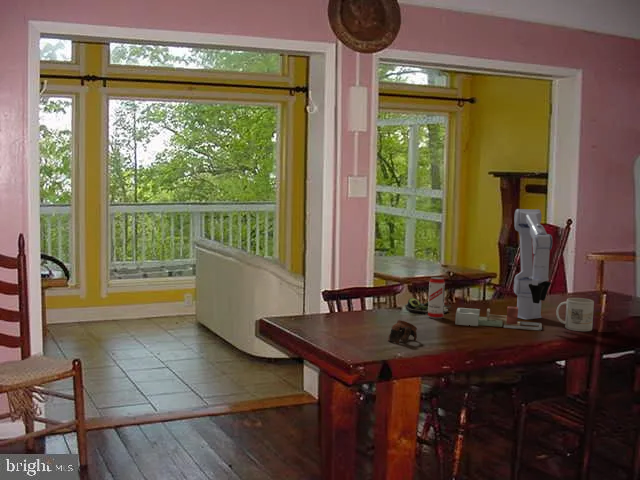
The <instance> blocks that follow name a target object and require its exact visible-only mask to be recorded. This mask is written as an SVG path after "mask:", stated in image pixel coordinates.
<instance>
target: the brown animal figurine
mask: <svg viewBox="0 0 640 480" xmlns="http://www.w3.org/2000/svg"><path fill="white" fill-rule="evenodd" d="M417 330H418V328H417V327H416V326H415V325H414V324H412V323H410V322H408V321H404V320H402V319H401V320H400V319H399V320H397V322H396V323H394V324H393V325H392V326H391V329H390V333H389V335H388V338H387V341H388V342H392V343H395V344H397V343H398V344H397V345H399V344H400V341H401V342H402V343H407V342H408V341H409V338H410V336H411V337H413V341H414V342H416V341H417V336H418V335H417Z"/></svg>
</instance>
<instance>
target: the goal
mask: <svg viewBox="0 0 640 480" xmlns="http://www.w3.org/2000/svg"><path fill="white" fill-rule="evenodd" d="M480 311H481V309H480V308H479V309H478V308H465V307H457V309H456V312H455V321H454V322H455V325H460V326H469V325H470V327H471V326H472V327H479V325H478V316H479V317H481V316H480V313H481V312H480ZM471 313H474V314H471Z"/></svg>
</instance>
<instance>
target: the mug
mask: <svg viewBox="0 0 640 480" xmlns="http://www.w3.org/2000/svg"><path fill="white" fill-rule="evenodd" d="M563 305H565V307H566V308H565V320H563V319H562V318H561V317H560V314H559V310H560V308H561V306H563ZM594 306H595V300H593V299H590V298H586V297H585V298H583V297H569V298H567V299H566V301H562V302H560V303H559V304H558V305H557V308H556V311H555V314H556V318H557V320H558V321H559V322H560V323H561V324H564V328H565V329H567V330H570V331H575V332H576V331H577V332H591V331H592V330H593V323H594V322H593V320H594V319H593V318H594V308H595V307H594Z"/></svg>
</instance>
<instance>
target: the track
mask: <svg viewBox="0 0 640 480" xmlns="http://www.w3.org/2000/svg"><path fill="white" fill-rule="evenodd" d="M486 319H487V316H478V326H487V327H498V328H499V327H501V328H502V327H503V328H505V329H514V330H515V329H517V330H529V331H541V330H542V331H543V327H542V326H543V325H542V322H530V321H521V320H520V321H517V322H520V326H516V325H504V321H503V320H486Z"/></svg>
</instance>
